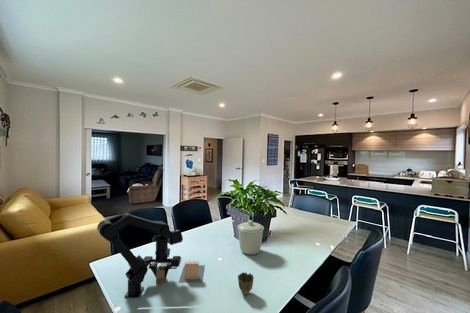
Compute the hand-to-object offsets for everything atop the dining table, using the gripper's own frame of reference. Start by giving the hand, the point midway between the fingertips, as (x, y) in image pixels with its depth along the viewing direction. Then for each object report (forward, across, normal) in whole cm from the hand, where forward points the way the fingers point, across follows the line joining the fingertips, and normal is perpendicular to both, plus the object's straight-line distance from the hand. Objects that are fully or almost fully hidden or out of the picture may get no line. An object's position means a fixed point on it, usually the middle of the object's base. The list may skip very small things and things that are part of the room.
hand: (161, 277), depth 106 cm
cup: (+2, -42, +10) cm, 43 cm away
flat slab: (+1, -15, -2) cm, 15 cm away
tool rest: (+2, 0, -16) cm, 16 cm away
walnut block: (+2, 0, 0) cm, 2 cm away
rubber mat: (+2, -15, -6) cm, 16 cm away
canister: (+2, -50, -32) cm, 59 cm away
